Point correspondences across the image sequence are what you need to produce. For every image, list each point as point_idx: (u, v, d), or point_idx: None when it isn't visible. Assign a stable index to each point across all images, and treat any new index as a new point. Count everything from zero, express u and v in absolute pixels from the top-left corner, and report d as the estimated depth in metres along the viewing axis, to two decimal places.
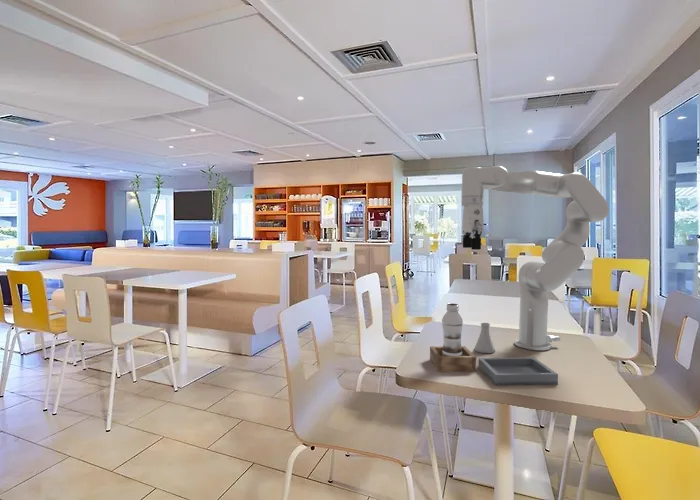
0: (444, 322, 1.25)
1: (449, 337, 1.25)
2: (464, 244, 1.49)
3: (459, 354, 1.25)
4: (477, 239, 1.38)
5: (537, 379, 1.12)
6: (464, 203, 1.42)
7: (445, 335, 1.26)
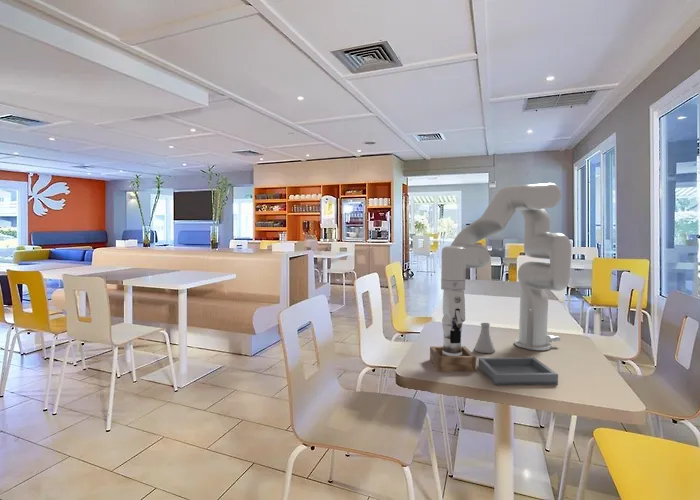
0: (444, 322, 1.25)
1: (449, 337, 1.25)
2: None
3: (459, 354, 1.25)
4: (456, 332, 1.22)
5: (537, 379, 1.12)
6: (443, 287, 1.24)
7: (445, 335, 1.26)
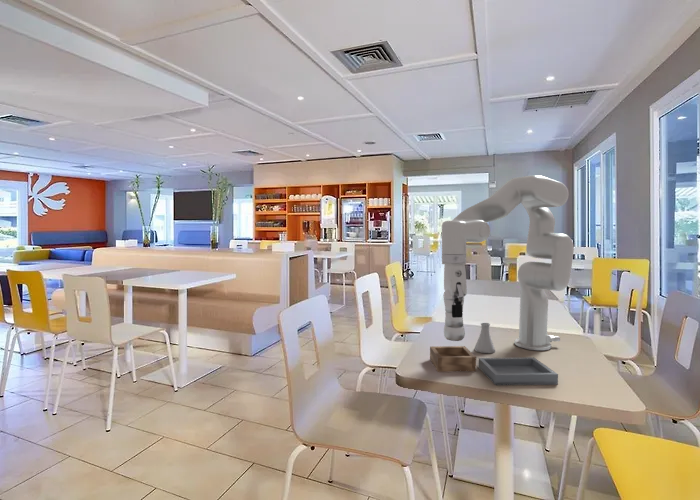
0: (445, 297, 1.25)
1: (451, 311, 1.24)
2: None
3: (461, 328, 1.25)
4: (458, 306, 1.22)
5: (537, 379, 1.12)
6: (444, 262, 1.24)
7: (447, 310, 1.26)
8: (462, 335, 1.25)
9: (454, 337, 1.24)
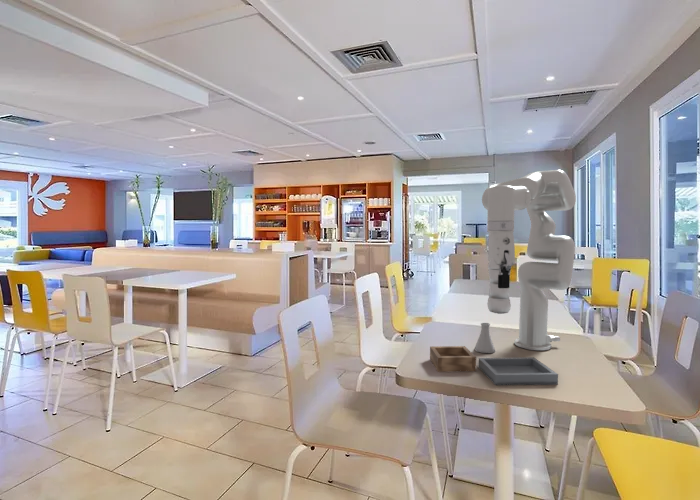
0: (491, 267, 1.18)
1: (496, 282, 1.17)
2: None
3: (507, 300, 1.18)
4: (505, 276, 1.15)
5: (537, 379, 1.12)
6: (490, 229, 1.17)
7: (492, 281, 1.19)
8: (508, 307, 1.18)
9: (499, 309, 1.17)
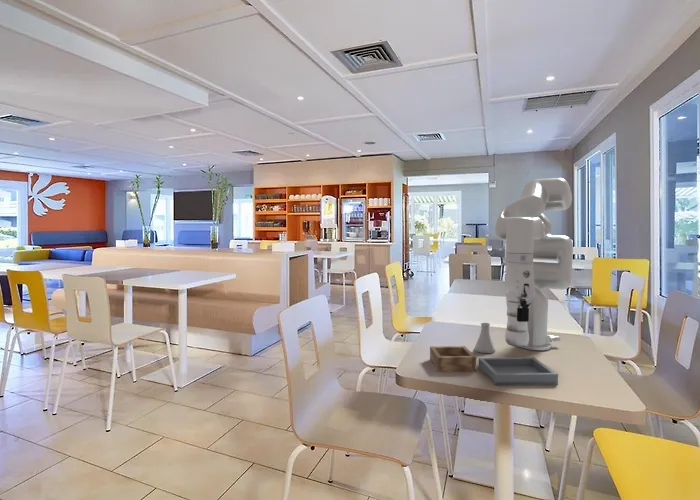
0: (509, 299, 1.16)
1: (515, 315, 1.15)
2: None
3: (526, 334, 1.16)
4: (524, 310, 1.13)
5: (537, 379, 1.12)
6: (510, 261, 1.15)
7: (510, 313, 1.17)
8: (527, 341, 1.16)
9: (518, 343, 1.15)
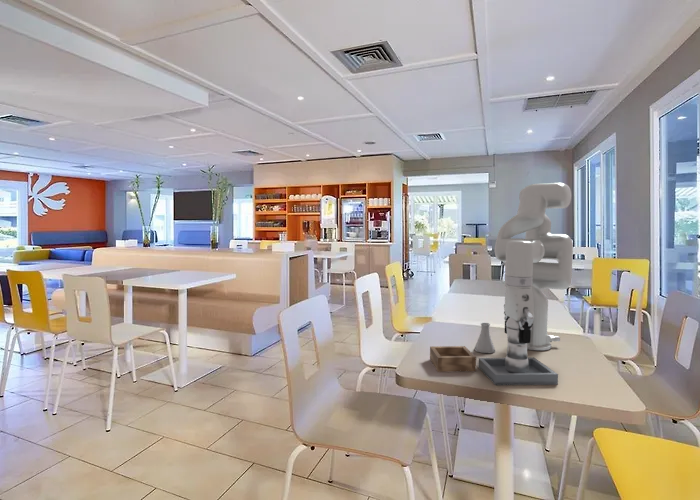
0: (510, 326, 1.17)
1: (515, 342, 1.16)
2: (506, 329, 1.23)
3: (526, 361, 1.16)
4: (526, 331, 1.12)
5: (537, 379, 1.12)
6: (509, 284, 1.16)
7: (510, 340, 1.17)
8: (527, 368, 1.16)
9: (518, 370, 1.16)
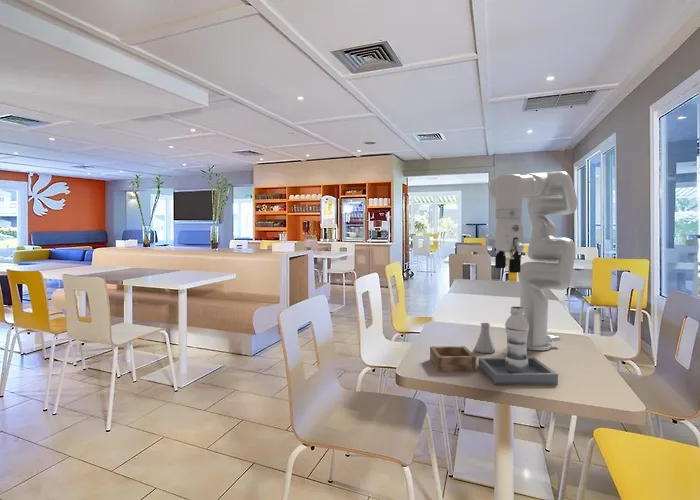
0: (509, 327, 1.17)
1: (514, 342, 1.16)
2: (497, 264, 1.27)
3: (525, 361, 1.16)
4: (516, 260, 1.16)
5: (537, 379, 1.12)
6: (499, 217, 1.19)
7: (510, 340, 1.17)
8: (526, 368, 1.16)
9: (518, 370, 1.16)
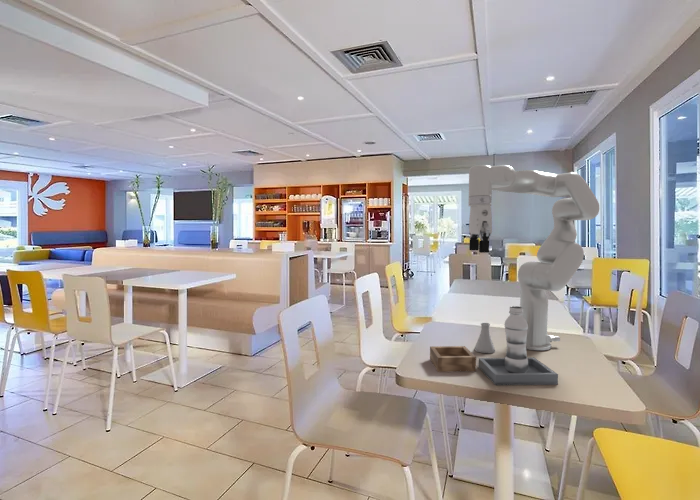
0: (508, 326, 1.17)
1: (514, 342, 1.16)
2: (471, 247, 1.41)
3: (525, 360, 1.16)
4: (485, 241, 1.30)
5: (537, 379, 1.12)
6: (471, 203, 1.34)
7: (509, 340, 1.18)
8: (526, 367, 1.16)
9: (518, 370, 1.16)
